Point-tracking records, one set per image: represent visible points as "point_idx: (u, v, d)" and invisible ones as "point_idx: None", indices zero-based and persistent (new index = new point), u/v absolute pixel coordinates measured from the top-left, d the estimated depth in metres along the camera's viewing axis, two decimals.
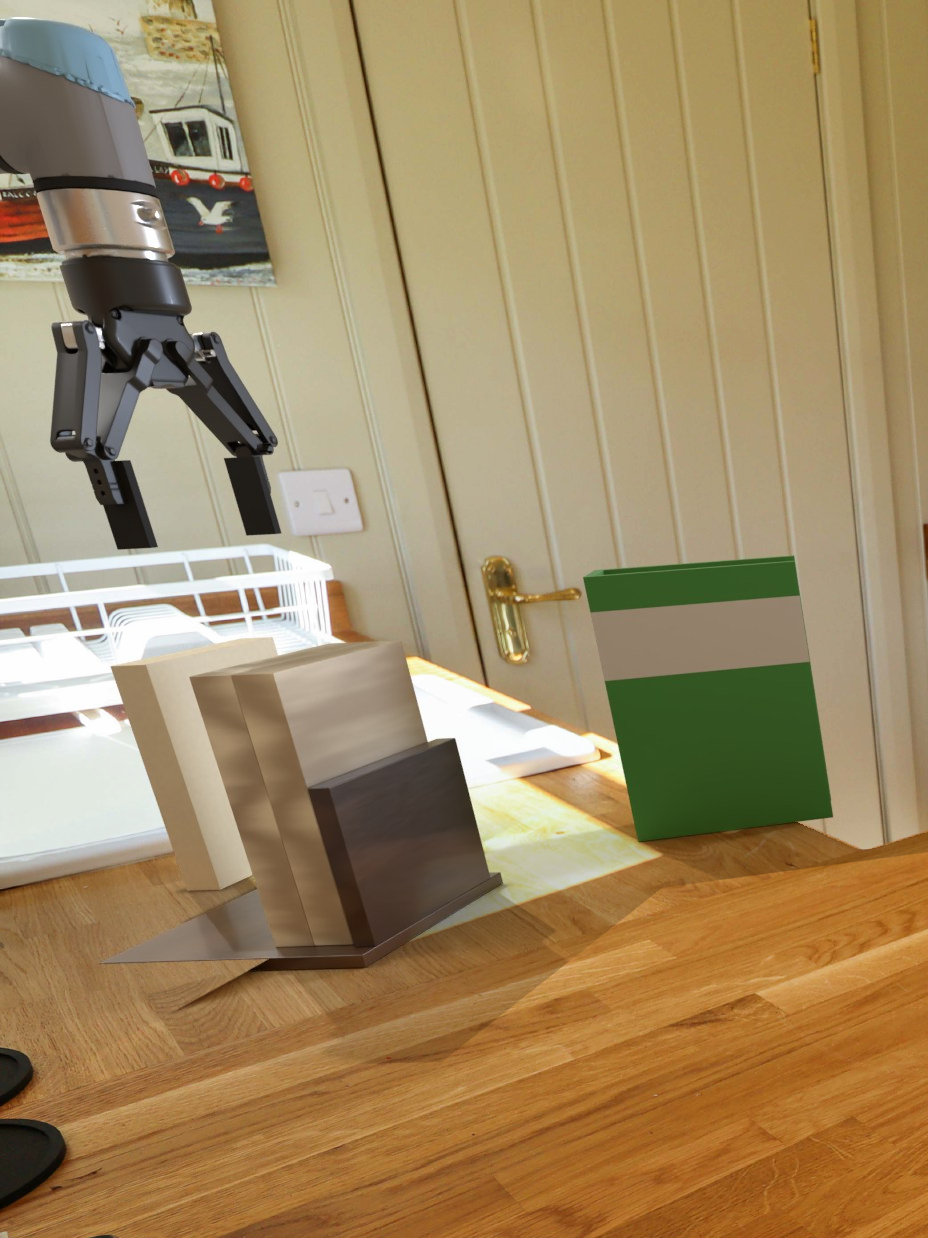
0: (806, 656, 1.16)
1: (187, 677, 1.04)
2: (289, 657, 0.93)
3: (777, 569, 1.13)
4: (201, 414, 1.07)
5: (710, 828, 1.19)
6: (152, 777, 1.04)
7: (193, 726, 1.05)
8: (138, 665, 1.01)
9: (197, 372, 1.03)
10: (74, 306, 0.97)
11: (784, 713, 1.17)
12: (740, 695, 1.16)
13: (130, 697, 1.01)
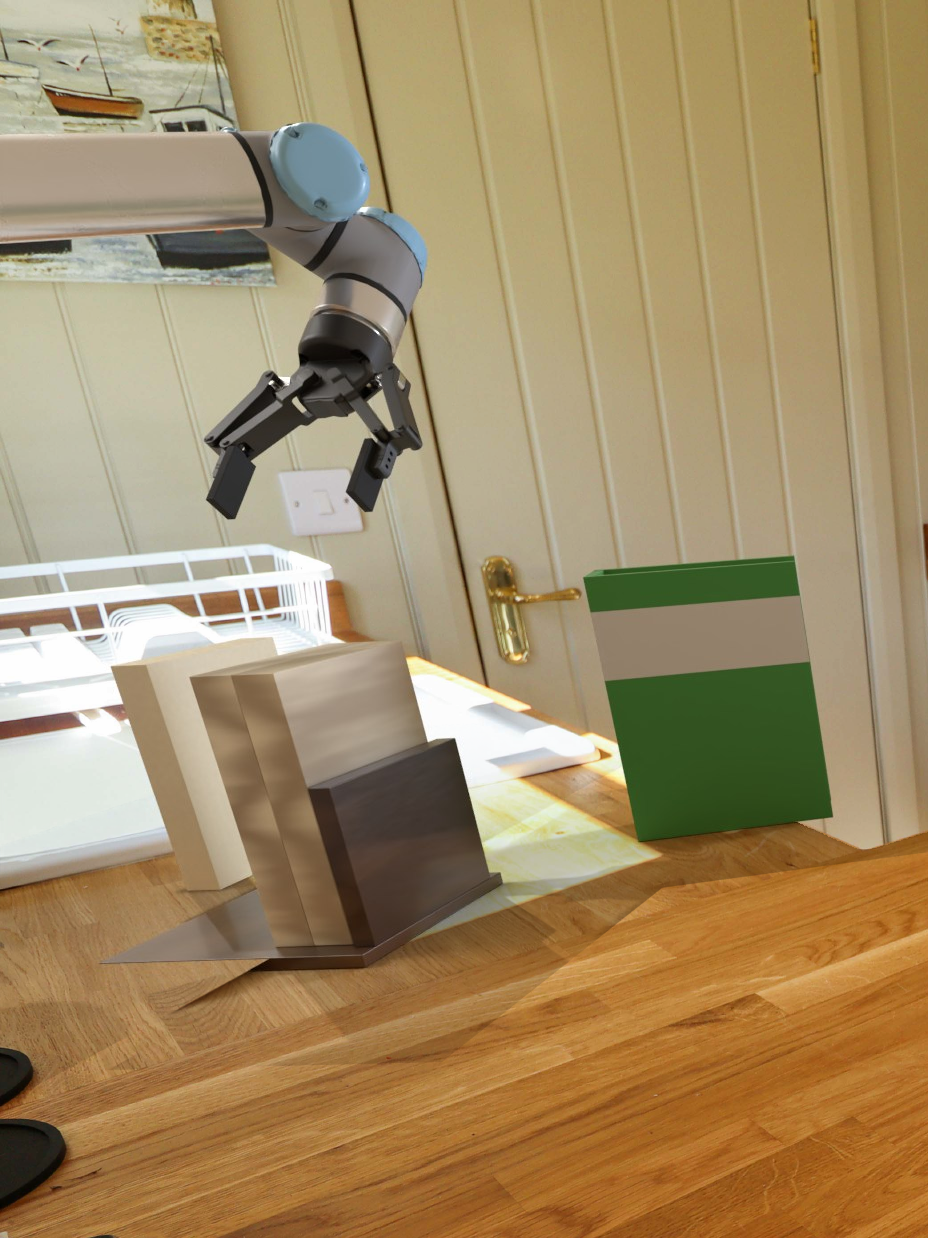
0: (806, 656, 1.16)
1: (187, 677, 1.04)
2: (289, 657, 0.93)
3: (777, 569, 1.13)
4: (270, 422, 1.22)
5: (710, 828, 1.19)
6: (152, 777, 1.04)
7: (193, 726, 1.05)
8: (138, 665, 1.01)
9: None
10: (356, 346, 1.23)
11: (784, 713, 1.17)
12: (740, 695, 1.16)
13: (130, 697, 1.01)
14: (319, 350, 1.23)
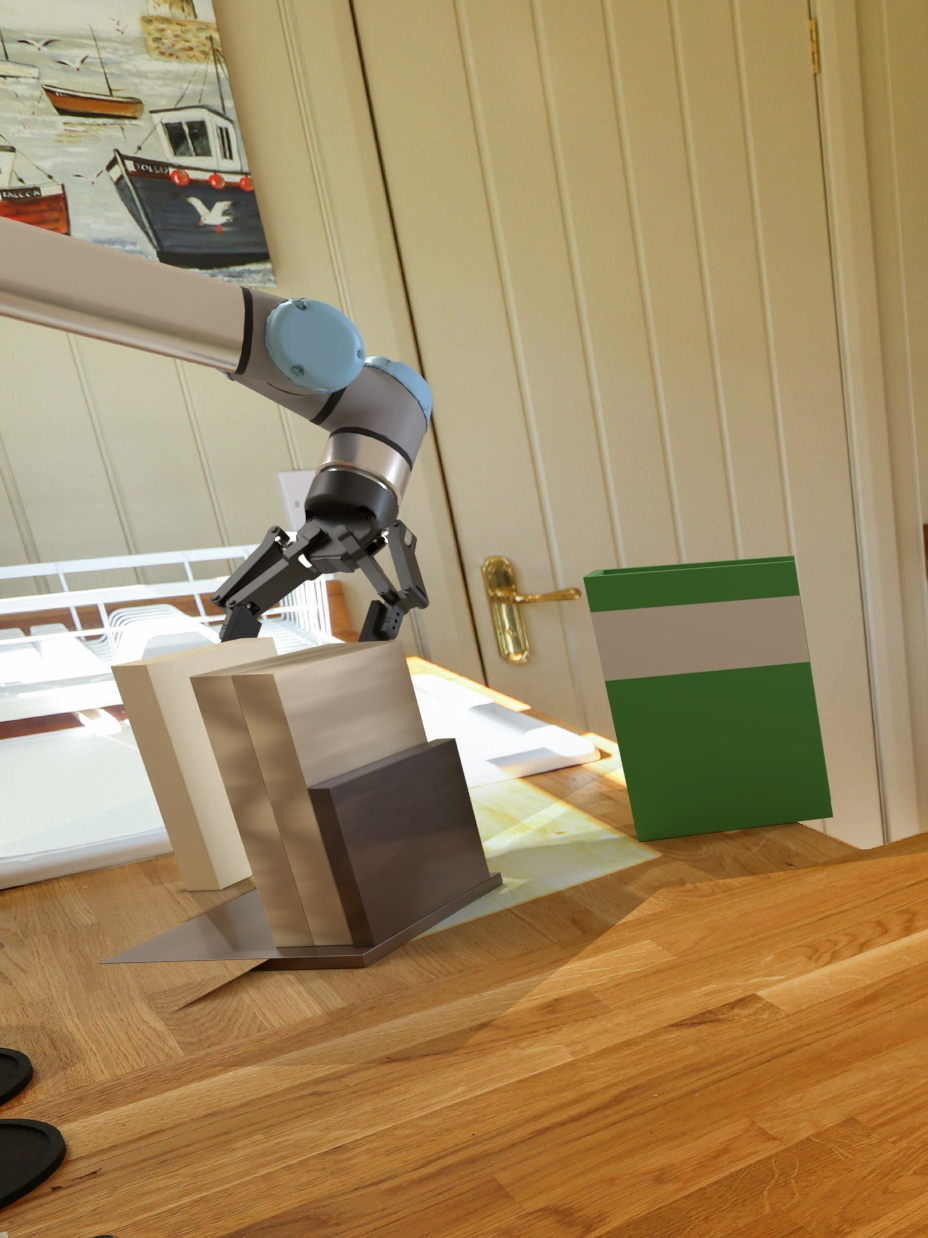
0: (806, 656, 1.16)
1: (187, 677, 1.04)
2: (289, 657, 0.93)
3: (777, 569, 1.13)
4: (276, 580, 1.22)
5: (710, 828, 1.19)
6: (152, 777, 1.04)
7: (193, 726, 1.05)
8: (138, 665, 1.01)
9: None
10: (363, 503, 1.24)
11: (784, 713, 1.17)
12: (740, 695, 1.16)
13: (130, 697, 1.01)
14: (325, 507, 1.23)
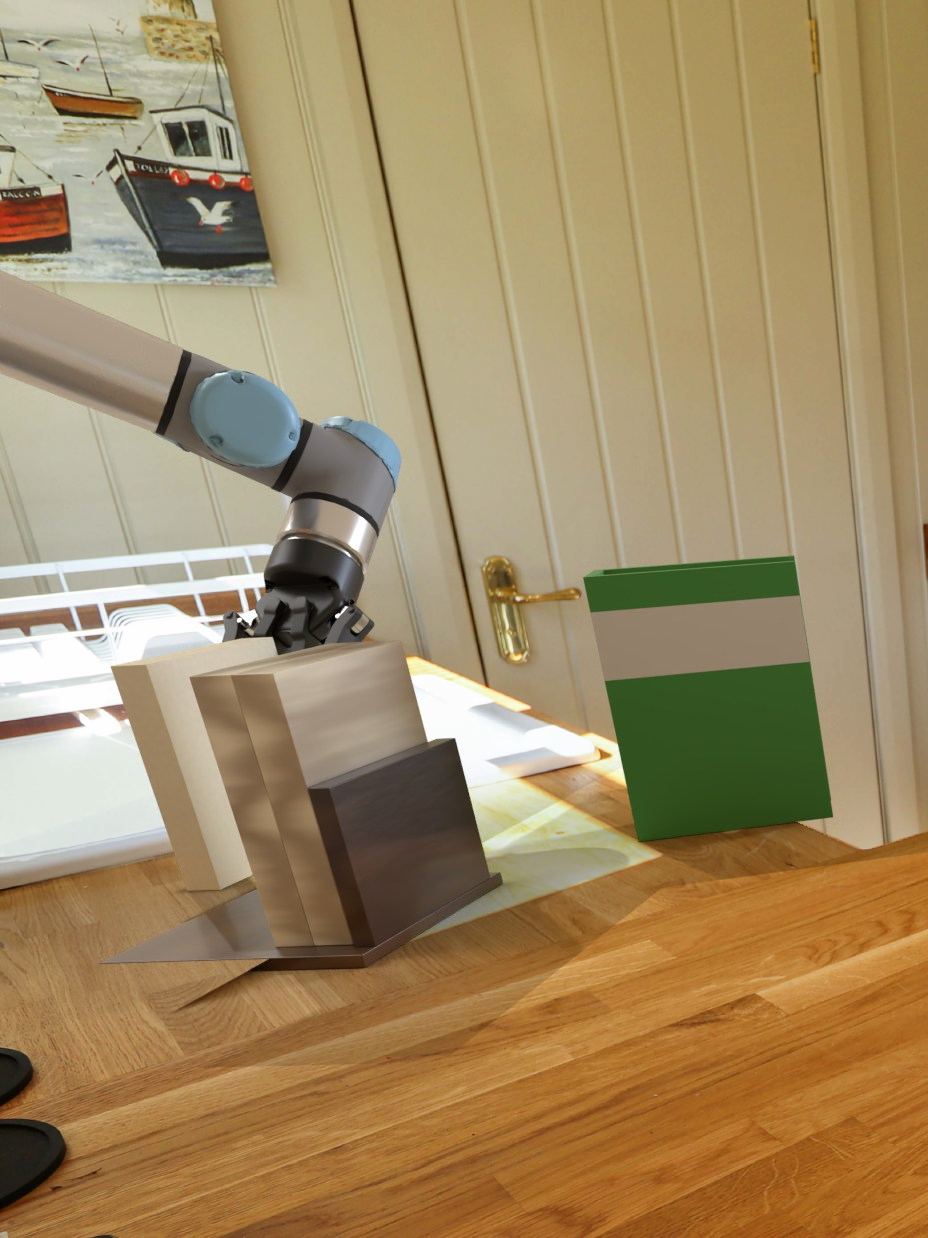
0: (806, 656, 1.16)
1: (187, 677, 1.04)
2: (289, 657, 0.93)
3: (777, 569, 1.13)
4: None
5: (710, 828, 1.19)
6: (152, 777, 1.04)
7: (193, 726, 1.05)
8: (138, 665, 1.01)
9: None
10: (324, 573, 1.18)
11: (784, 713, 1.17)
12: (740, 695, 1.16)
13: (130, 697, 1.01)
14: (286, 578, 1.18)
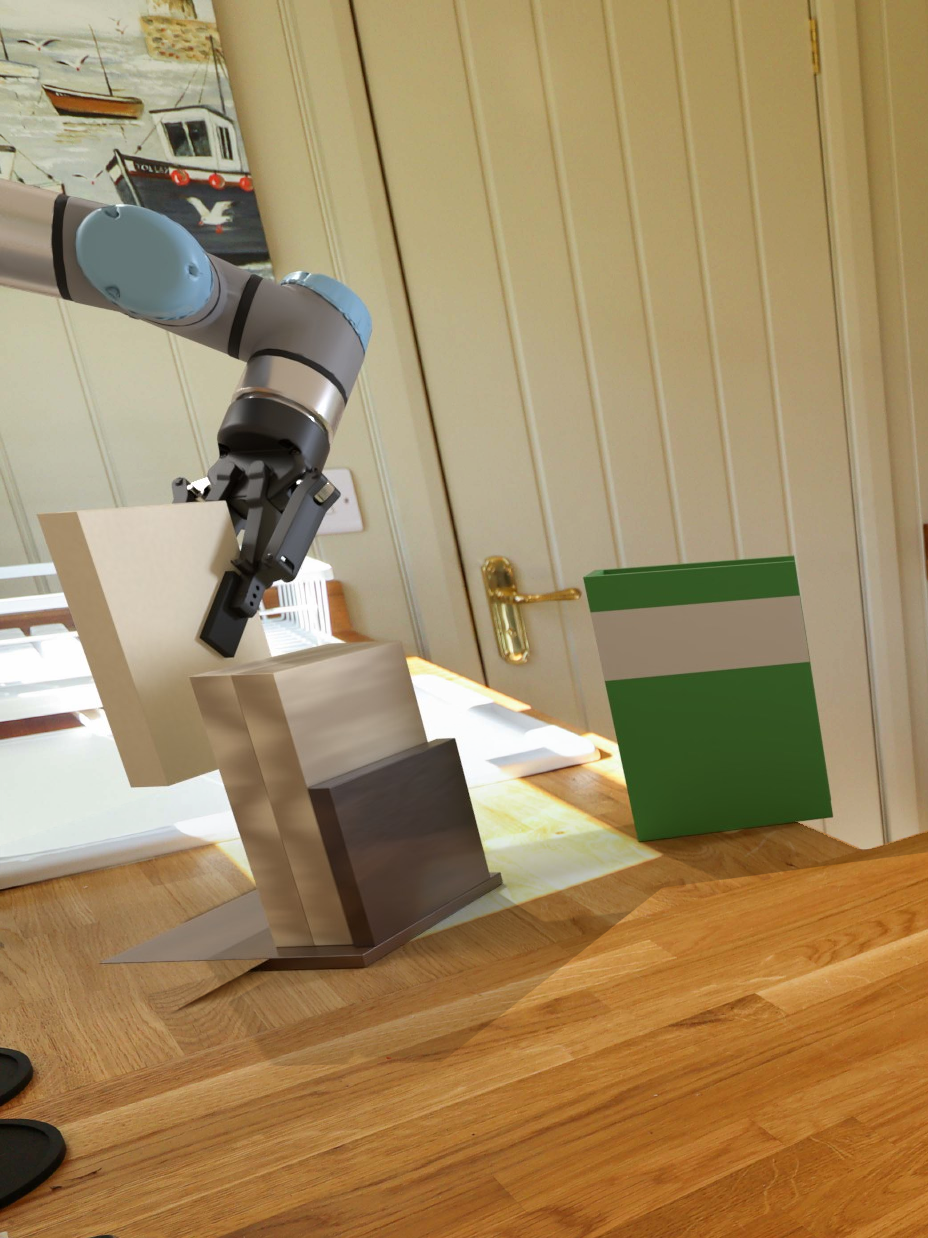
0: (806, 656, 1.16)
1: (126, 532, 0.93)
2: (289, 657, 0.93)
3: (777, 569, 1.13)
4: None
5: (710, 828, 1.19)
6: (86, 644, 0.92)
7: (132, 587, 0.93)
8: (68, 512, 0.89)
9: None
10: (285, 435, 1.07)
11: (784, 713, 1.17)
12: (740, 695, 1.16)
13: (59, 550, 0.90)
14: (241, 440, 1.06)
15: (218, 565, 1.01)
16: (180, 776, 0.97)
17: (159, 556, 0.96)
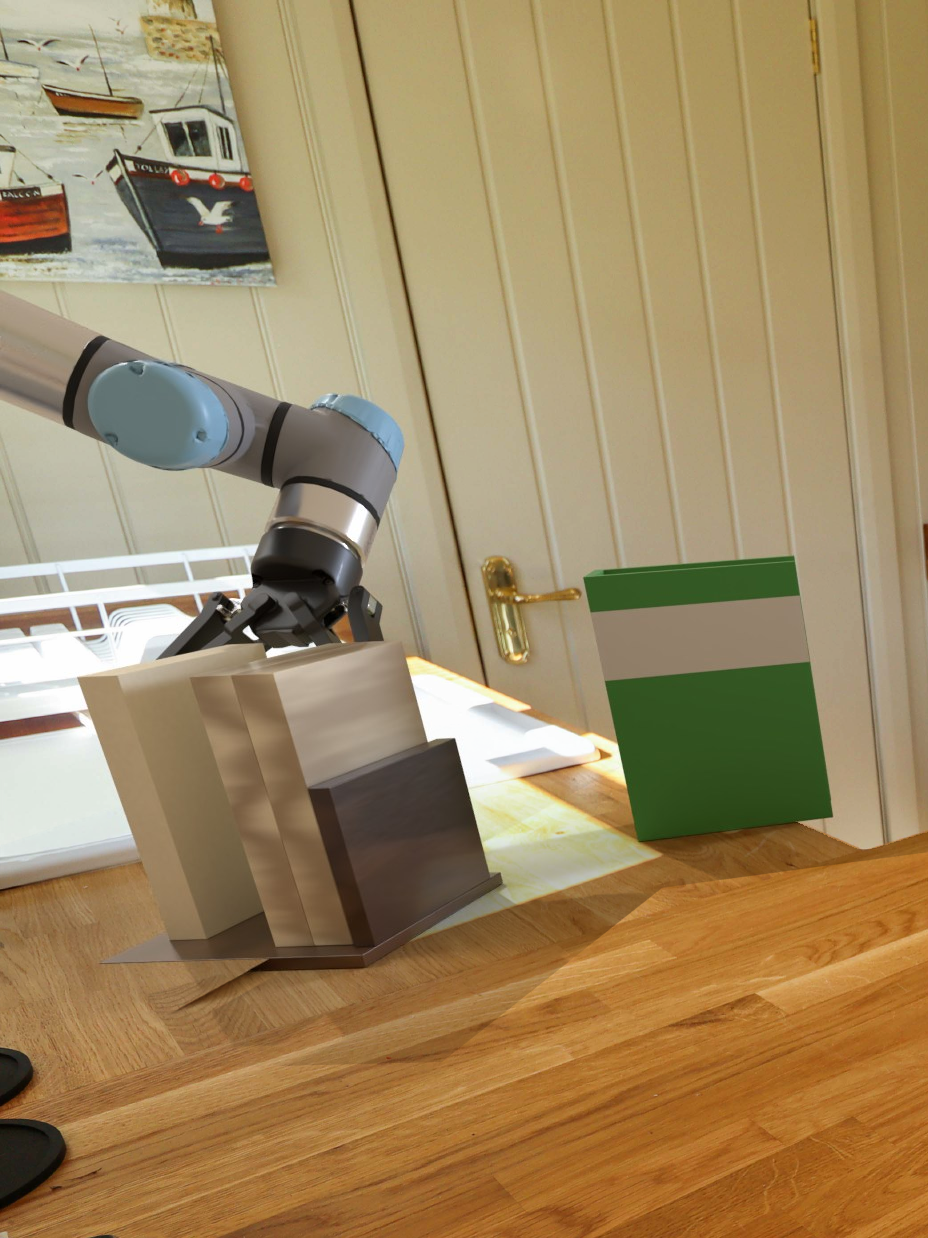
0: (806, 656, 1.16)
1: (165, 689, 0.92)
2: (289, 657, 0.93)
3: (777, 569, 1.13)
4: None
5: (710, 828, 1.19)
6: (125, 802, 0.92)
7: (172, 744, 0.93)
8: (108, 676, 0.89)
9: None
10: (318, 566, 1.06)
11: (784, 713, 1.17)
12: (740, 695, 1.16)
13: (100, 712, 0.89)
14: (275, 571, 1.06)
15: None
16: (218, 927, 0.96)
17: (198, 708, 0.95)
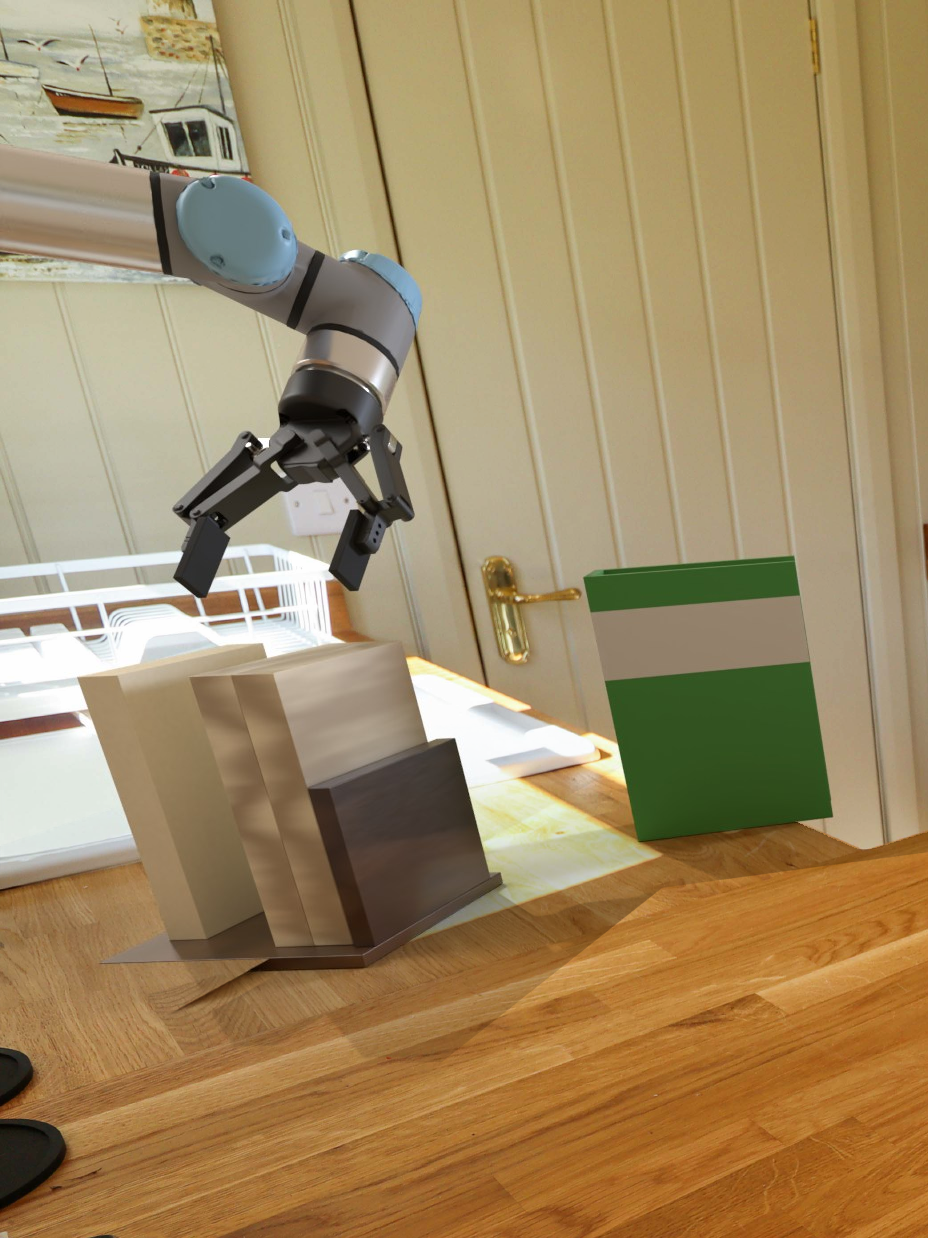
0: (806, 656, 1.16)
1: (165, 689, 0.92)
2: (289, 657, 0.93)
3: (777, 569, 1.13)
4: (246, 489, 1.10)
5: (710, 828, 1.19)
6: (125, 802, 0.92)
7: (172, 744, 0.93)
8: (108, 676, 0.89)
9: None
10: (342, 405, 1.12)
11: (784, 713, 1.17)
12: (740, 695, 1.16)
13: (100, 712, 0.89)
14: (301, 410, 1.12)
15: None
16: (218, 927, 0.96)
17: (198, 708, 0.95)
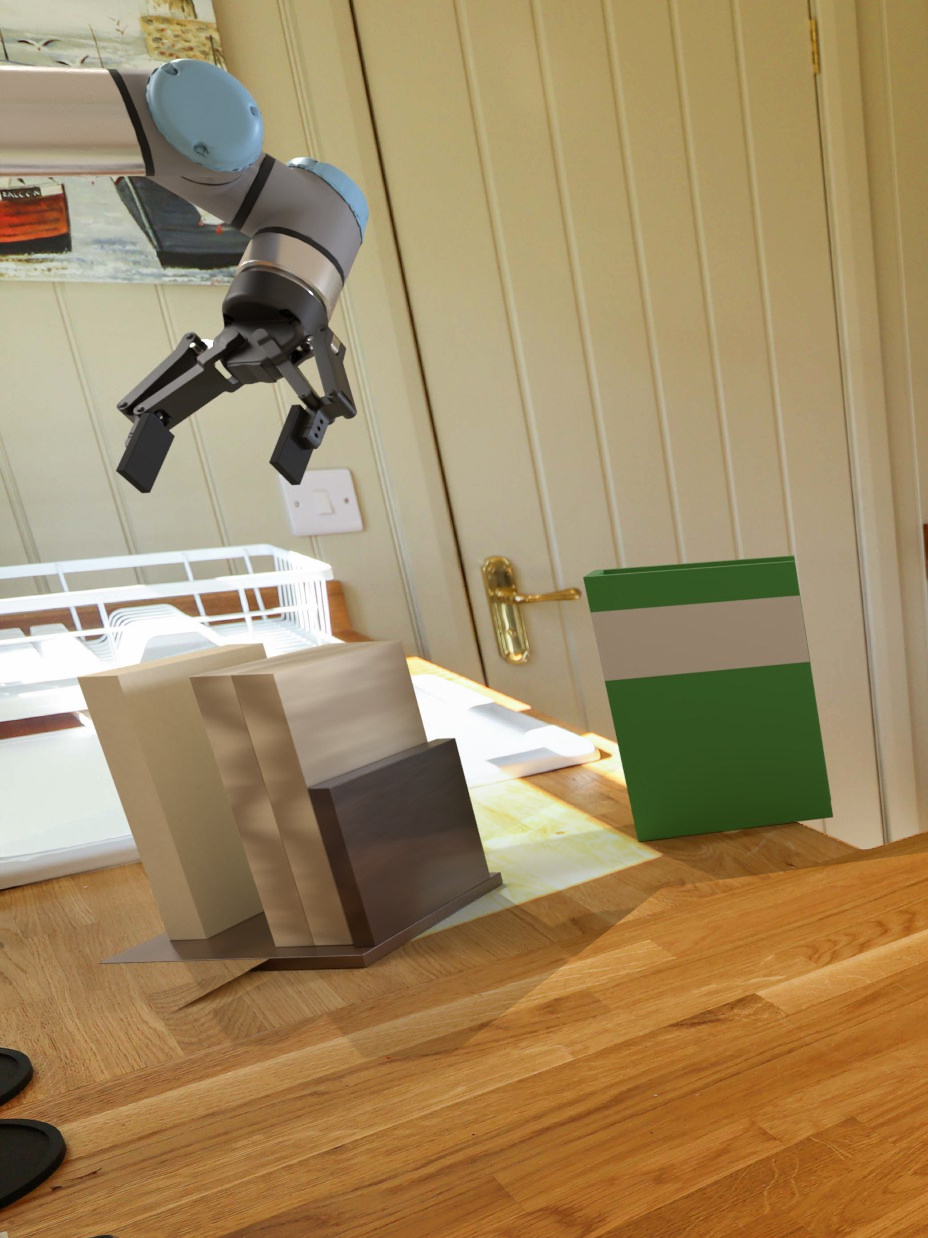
0: (806, 656, 1.16)
1: (165, 689, 0.92)
2: (289, 657, 0.93)
3: (777, 569, 1.13)
4: (190, 387, 1.12)
5: (710, 828, 1.19)
6: (125, 802, 0.92)
7: (172, 744, 0.93)
8: (108, 676, 0.89)
9: None
10: (285, 305, 1.13)
11: (784, 713, 1.17)
12: (740, 695, 1.16)
13: (100, 712, 0.89)
14: (245, 310, 1.13)
15: None
16: (218, 927, 0.96)
17: (198, 708, 0.95)
